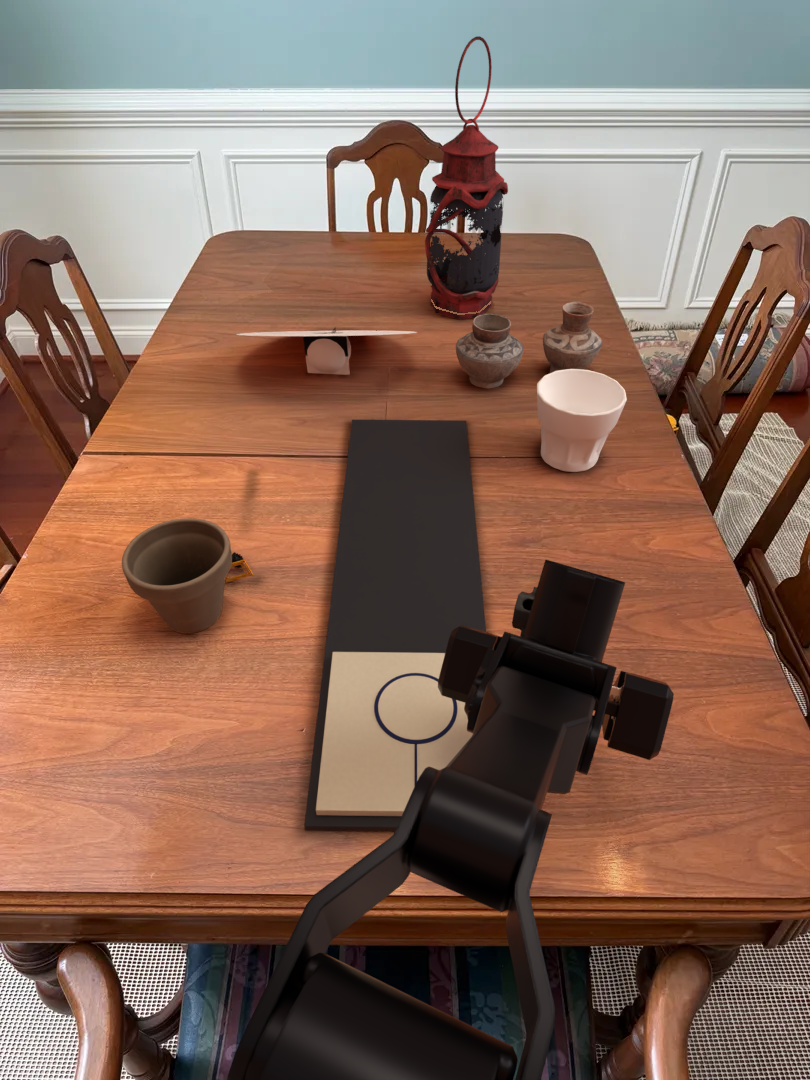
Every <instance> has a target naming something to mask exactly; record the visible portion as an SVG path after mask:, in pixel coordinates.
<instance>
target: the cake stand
mask: <svg viewBox="0 0 810 1080" xmlns="http://www.w3.org/2000/svg"><path fill="white" fill-rule="evenodd" d="M336 327H337V326H335V327H334V328H333V329H332V330H289V331H283V330H282V331H255V332H241V333H236V336H249V337H250V336H251V337H302V339H303V340H302V341H303V347H304V348H303V349H304V354H305V362H306V369H307V373H308V374H322V375H323V374H324V375H325V374H326V375H343V376H350V375H351V373H350V372H351V371H350V359H351V354H352V345H351V341H350V339H349V336H350V337H351V336H353V337H354V336H355V337H356V336H357V337H358V336H387V335H392V336H393V335H406V334H408V335H409V334H417V333H418V331H413V330H411V331H409V330H377V331H376V330H369V329H368V330H363V329H362V330H361V329H360V330H357V329H353V330H350V329H348V330H347V329H346V330H343V329H342V330H337V328H336Z"/></svg>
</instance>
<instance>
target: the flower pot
mask: <svg viewBox="0 0 810 1080" xmlns="http://www.w3.org/2000/svg"><path fill="white" fill-rule="evenodd" d="M232 554H233V552H232V548H231V541H230V537H229V536H228V534H227V532H226V530H224V529H223V528H222V527H221V526H219V525H218V524H216V523H214V522H212V521H209V520H206V519H202V518H194V517H193V518H192V517H184V518H183V517H182V518H175V519H169V520H166V521H163V522H159V523H157V524H153V525H152V526H149V527H148V528H146V529H145V530H143V531H141V532H140V533H138V534H137V535H136V536H135V537H134V538H132V540H131V541H130V542H129V543H128V544H127V546H126V547H125V549H124V551H123V554H122V556H121V569H122V573H123V574H124V577H125V579H126V581H127V583H128V586H129V587H130V589H131V590H132V591H133V593H134V594H135V595H136V596H138V597H140V598H141V599H143V600H145V601H148V602H149V604H150V605H151V607H152V608H153V610H154V611H155V612H156V614H157V615H158V616H159V617H160V619H161V620H162V621H163V622H164V623H165V624H166V625H167V626H168V627H169V628H170V629H171V630H172V631H174V632H177V633H180V634H195V633H199V632H202V631H205V630H206V629H208V628H210V627H211V626H213V625H214V624H215V623H216V622H217V621H218V620H219V618H220V617H221V614H222V610H223V605H224V595H225V584H226V583H225V580H226V578H225V577H227V575H228V574H229V572H230V570H231V568H232V567H231V564H232Z"/></svg>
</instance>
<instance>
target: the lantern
mask: <svg viewBox="0 0 810 1080" xmlns="http://www.w3.org/2000/svg"><path fill="white" fill-rule="evenodd" d="M476 41H481V42H482V44H483V45H484V47H485V49H486V50H485V51H486V53H487V60H488V78H487V86H486V92H485V95H484V99H483V102H482V105H481V106H480V109H479V111H478V112H477V114H476V115H475V117H474V118H468V119H466V118H464V116H463V114H462V112H461V109H460V103H459V81H460V74H461V70H462V64H463V62H464V58H465V56H466V53H467V52H468V50H469V48H470V46H472V44H473V43H474V42H476ZM456 71H457V72H456V77H455V84H454V85H455V86H454V95H455V96H454V98H455V106H456V111H457V114H458V116H459V118H460V120H461V121H462V122H463V123H464V124H463V127H462V130H461V131H460V132H459V133H458V134H457V135H456V136H455V137H453V138H452V139H451V140H449V141H447V142H446V143H444V144H442V146H441V148H440V149H441V150H442V152H443V156H442V165H441V171H440V173H437V174H436V175H434V176H432V177H431V181H432V182H433V183H434V185H435V186H434V188H433V190H432V192H431V194H430V198H429V199H430V200H429V202H430V203H429V204H430V205H432V206H433V207H432V209H430V212H429V224H428V226H427V228H426V229H425V233H426V236H425V239H424V249H425V257H426V277H427V280H428V282H429V283H430V284H431V285H430V287H431V292H430V299H429V300H430V301H429V303H430V306H431V308H432V309H433V311H434V313H435V314H438V315H441V316H445V317H448V318H453V319H456V320H467V319H468V320H469V319H474V318H475V317H477V316H479V315H482V314H486V312H487V311H489V310H490V309H491V308H492V303H491V304H490V305H488V306H487V307H486V308H485V309H484V310H482V311H481V312H480V313H476V314H465V315H457V314H453V313H450V312H446V311H442V310H439V309H436V308H435V307H434V305H433V303H432V302H431V299H432V300H433V302H434V304H435V306H437V307H440V308H442V309H446V310H449V311H453V312H457V313H468V312H476V311H477V312H478V311H480V310H481V309H482V308H483V307H484V306H485V305H487V304H488V303H489V302H490V301H491V300H492V301H493V294H494V293H495V291H496V289H497V287H498V284H499V276H500V275H499V274H500V265H501V249H502V230H503V228H502V226H503V217H504V214H503V213H504V210H503V208H504V206H503V204H504V202H505V201H503V199H504V196H505V195H507V194H508V193H509V187H508V186H509V185H508V183H507V182H506V181H505V178H504V177H503V176H502V175H500V173H499V172H498V171H497V170H496V169H497V168H496V166H497V165H496V152H497V151H498V149H499V145H497V144H496V143H495V142H494V141H491V140H490V139H489V138H487V136H486V135H484V134H483V132H482V131H481V130H480V127H479V125H478V122H477V120H478V118H480V116H481V114H482V112H483V111H484V109H485V106H486V103H487V100H488V97H489V93H490V88H491V82H492V55H491V49H490V46H489V44H488V42H487V41H486V39H485V37H482V36H475V37H473V38H471V39H469V41H468V42H467V44H466V45H465V47H464V49H463V51H462V53H461V56H460V59H459V63H458V66H457V70H456ZM472 123H473V124H472ZM460 217H462V218H464V219H466V220H467V221H468V220H469V224H467V227H468V226H469V227H468V229H467V230H468V232H470V233H471V231H472V230H475V231H476V232H477V231H479V230H480V231H482V232H480V233H477V236H478V237H477V239H476V242H475V247H474V248H473V249H472V248H471V247H470V246H472V243H473V241H471V240H467V242H466V241H465V240H464V238H462V237H461V236H460V235H458V233H456V232H454V231H453V230H450V229H449V228H443V227H444V226H446V225H447V226H448V225H449V223H450V222H451V221H455V220H456V219H457V218H460ZM472 222H473V223H472ZM450 224H451V225H452V226H455V225H454V223H453V222H451V223H450ZM452 226H450V228H452ZM464 226H466V225H465V224H463V227H464ZM434 234H435V236H434ZM437 234H446V235H449V236H450V237H452V238H453V239H455V241H456V242H458V244H459V245H460V246H461V247H460V249H459V250H455V251H453V252H451V249H450V248H447V249H446V248H445V245H446V244H445V242H446V240H447V239H444V240H443V241H441V239H440V237H438V235H437ZM471 238H473V235H472V234H471ZM479 241H480V242H479ZM441 242H443V244H441ZM464 252H465V254H464ZM460 253H461V254H460Z"/></svg>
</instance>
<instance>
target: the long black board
mask: <svg viewBox="0 0 810 1080" xmlns="http://www.w3.org/2000/svg"><path fill="white" fill-rule="evenodd" d="M349 434H350V435H349V441H348V449H347V459H346V467H345V476H344V482H343V483H344V484H343V493H342V500H341V501H342V503H341V511H340V518H339V527H338V536H337V544H336V553H335V560H334V561H335V562H334V570H333V577H332V587H331V595H330V603H329V610H328V611H329V613H328V621H327V628H326V629H327V630H326V636H325V637H326V638H325V646H324V656H323V664H322V670H321V671H322V673H321V679H320V680H321V681H320V688H319V690H320V691H319V699H318V707H317V716H316V724H315V732H314V739H313V740H314V742H313V748H312V758H311V765H310V766H311V767H310V775H309V782H308V784H309V785H308V792H307V800H306V808H305V817H304V830H305V831H352V832H353V831H354V832H355V831H358V832H361V831H363V832H367V831H369V832H395V830H396V828H397V826H398V823H399V821H400V819H401V816H402V814H403V812H404V810H405V807H406V805H407V803H408V800H409V798H410V796H411V794H412V791H413V789H414V787H415V785H416V783H417V781H418V779H419V777H420V775H421V774H422V772H423V771H424V770H425V768H427V767H432V768H435V769H437V770H441V769H443V768H445V767H446V766H447V765H448V764H449V763H450V761H451V760H452V759H453V758H454V757H455V756H456V754H457V753H458V752H459V751H460V750H461V749H462V747H463V746H464V745H465V744H466V743H467V741H468V740H469V739H470V738H471V737H472V735H473V733H471V732H468V731H467V723H468V719H467V715H466V713H465V711H464V706H465V703H464V702H461V701H458V700H455V699H451V698H448V697H445V696H442V695H441V693H440V691H439V689H438V679H439V676H440V672H441V668H442V664H443V660H444V656H445V652H446V648H447V644H448V641H449V637H450V635H451V632H452V631H453V630H454V629H456V628H458V627H459V626H467V627H470V628H474V629H478V630H481V631H485V632H487V624H486V615H485V603H484V594H483V592H484V591H483V583H482V573H481V561H480V552H479V542H478V540H479V539H478V529H477V519H476V509H475V498H474V488H473V487H474V486H473V477H472V468H471V455H470V447H469V436H468V435H469V434H468V423H467V420H453V419H452V420H450V419H449V420H447V419H444V420H442V419H438V420H437V419H351V423H350V431H349Z"/></svg>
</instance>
